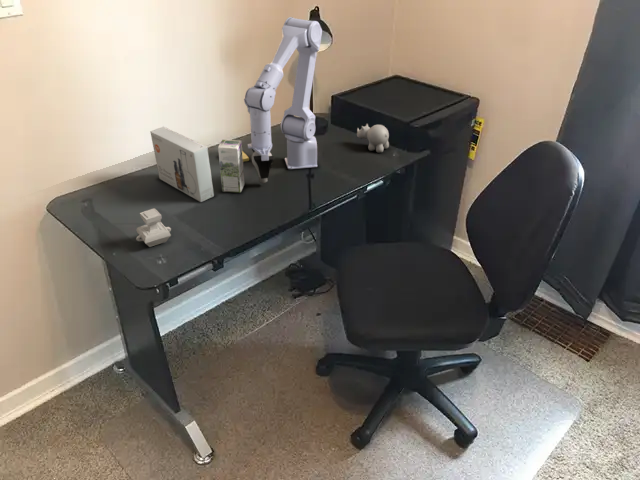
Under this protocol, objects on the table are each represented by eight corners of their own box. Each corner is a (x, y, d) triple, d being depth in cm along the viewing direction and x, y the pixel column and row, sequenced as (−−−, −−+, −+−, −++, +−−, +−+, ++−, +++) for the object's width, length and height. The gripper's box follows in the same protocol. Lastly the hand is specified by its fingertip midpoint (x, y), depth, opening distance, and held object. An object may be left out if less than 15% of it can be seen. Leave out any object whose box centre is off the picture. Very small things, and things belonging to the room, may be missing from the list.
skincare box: (157, 179, 172) (149, 130, 164) (172, 173, 176) (165, 125, 167) (199, 203, 160) (193, 151, 152) (214, 196, 164) (209, 145, 155)
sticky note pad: (241, 151, 190) (240, 149, 189) (249, 160, 184) (249, 157, 184) (219, 156, 187) (219, 153, 187) (227, 165, 181) (226, 162, 181)
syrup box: (245, 184, 170) (241, 139, 163) (240, 193, 166) (237, 147, 158) (226, 183, 171) (222, 138, 163) (221, 192, 166) (217, 146, 158)
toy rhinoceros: (362, 139, 200) (364, 116, 195) (391, 148, 194) (393, 124, 189) (351, 146, 195) (352, 122, 190) (380, 155, 189) (382, 131, 184)
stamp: (167, 230, 148) (162, 202, 144) (176, 242, 144) (172, 213, 139) (133, 240, 144) (127, 212, 139) (142, 253, 139) (136, 224, 135)
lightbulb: (257, 189, 166) (255, 155, 160) (250, 181, 170) (247, 147, 164) (276, 185, 168) (275, 151, 162) (268, 177, 173) (267, 143, 167)
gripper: (244, 121, 165) (246, 163, 173) (249, 140, 153) (252, 185, 161) (268, 119, 167) (269, 161, 174) (275, 138, 155) (276, 183, 162)
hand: (263, 173), depth 168 cm, fingers closed on lightbulb, 6 cm apart
